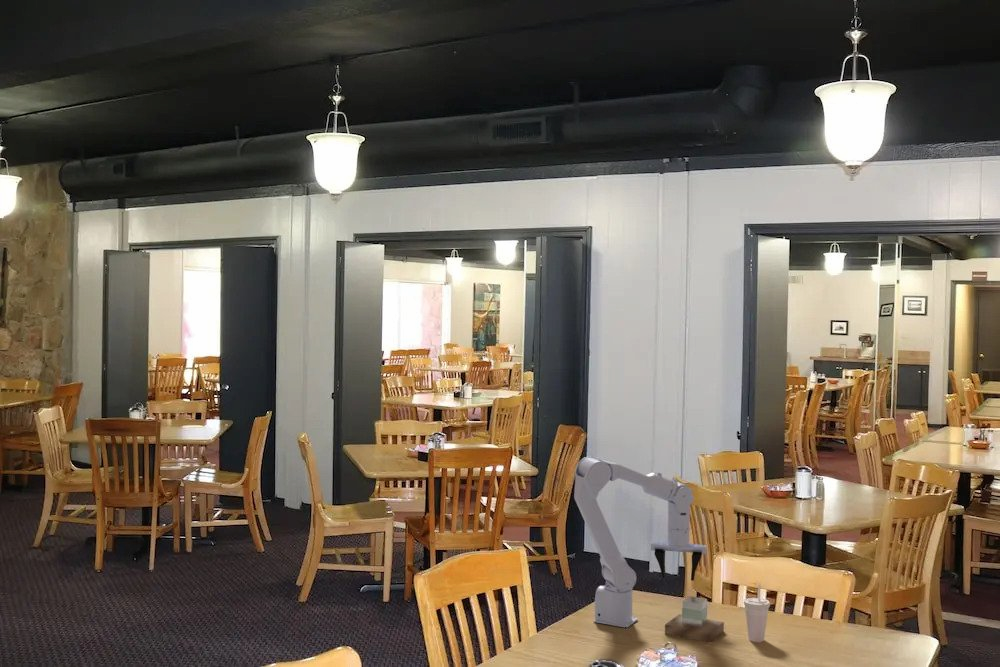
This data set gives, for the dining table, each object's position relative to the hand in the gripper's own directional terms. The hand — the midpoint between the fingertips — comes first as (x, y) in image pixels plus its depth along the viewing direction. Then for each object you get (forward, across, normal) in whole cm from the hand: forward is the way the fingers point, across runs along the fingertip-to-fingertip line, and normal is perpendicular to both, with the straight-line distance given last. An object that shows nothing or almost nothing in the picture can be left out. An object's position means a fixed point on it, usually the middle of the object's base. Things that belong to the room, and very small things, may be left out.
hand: (678, 578), depth 259 cm
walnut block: (+11, +5, -12) cm, 17 cm away
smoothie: (+11, +20, -13) cm, 26 cm away
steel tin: (+8, +5, -12) cm, 15 cm away
